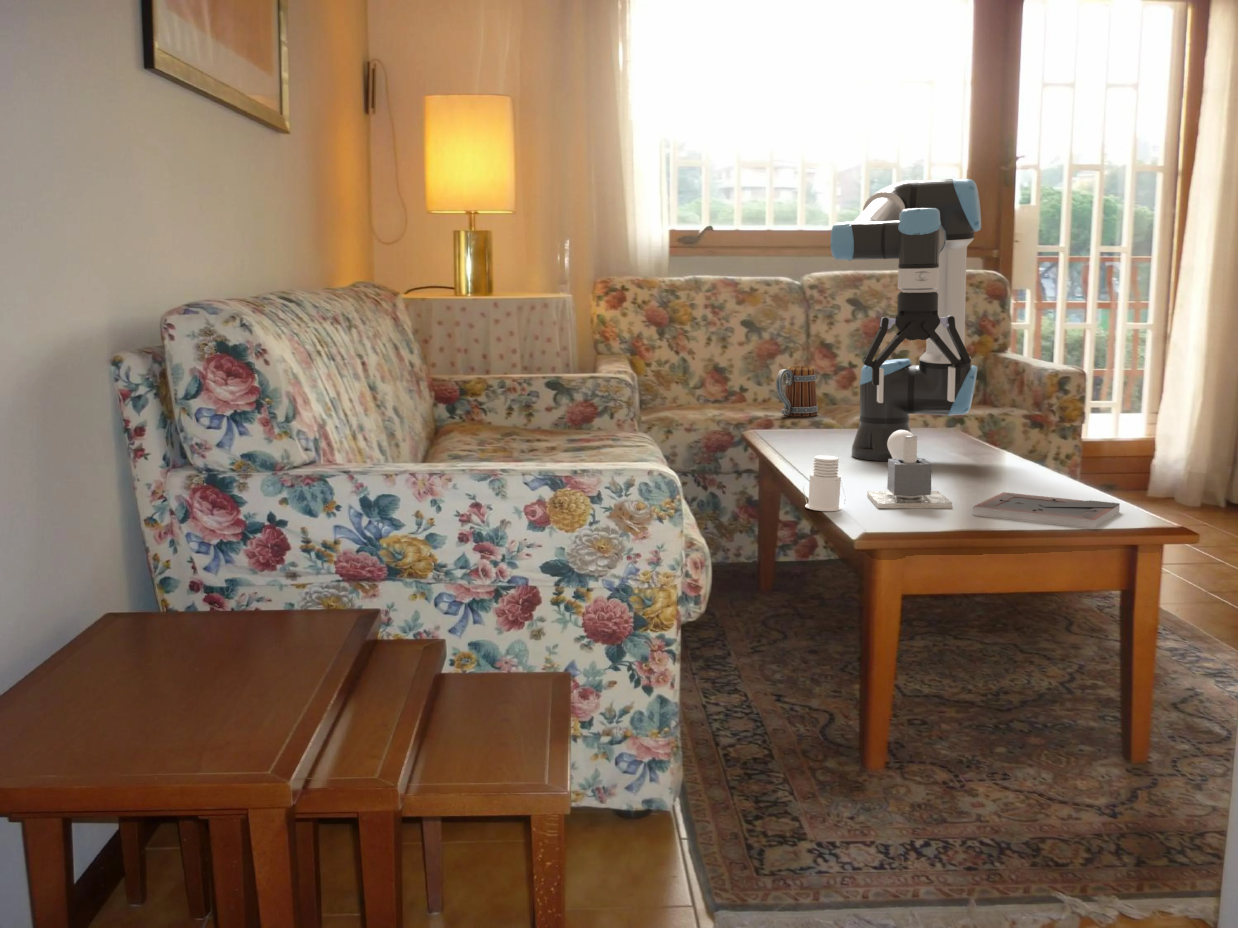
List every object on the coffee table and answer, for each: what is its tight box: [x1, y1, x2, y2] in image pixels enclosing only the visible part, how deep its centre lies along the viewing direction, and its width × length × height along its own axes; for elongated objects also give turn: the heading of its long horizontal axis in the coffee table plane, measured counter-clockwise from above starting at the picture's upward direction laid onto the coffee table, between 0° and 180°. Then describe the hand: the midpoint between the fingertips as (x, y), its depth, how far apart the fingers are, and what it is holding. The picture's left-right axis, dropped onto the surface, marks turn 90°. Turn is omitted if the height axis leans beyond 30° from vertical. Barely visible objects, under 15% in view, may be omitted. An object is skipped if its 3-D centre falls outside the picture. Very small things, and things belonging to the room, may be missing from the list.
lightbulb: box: [887, 430, 915, 459], centre depth 249 cm, size 6×6×11 cm
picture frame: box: [972, 491, 1121, 530], centre depth 215 cm, size 16×2×22 cm
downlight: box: [802, 455, 846, 512], centre depth 222 cm, size 8×7×10 cm
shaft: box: [866, 434, 953, 509], centre depth 226 cm, size 12×14×13 cm
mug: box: [775, 365, 819, 418], centre depth 358 cm, size 16×11×15 cm
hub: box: [886, 458, 933, 495], centre depth 226 cm, size 7×7×6 cm
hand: (915, 401), depth 225 cm, fingers open, 13 cm apart
